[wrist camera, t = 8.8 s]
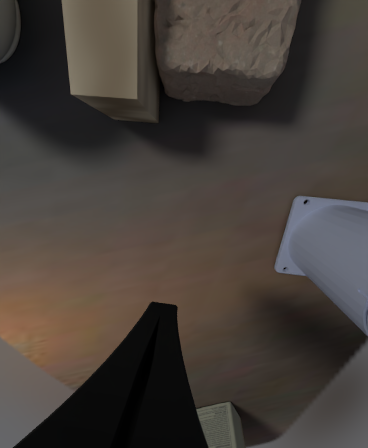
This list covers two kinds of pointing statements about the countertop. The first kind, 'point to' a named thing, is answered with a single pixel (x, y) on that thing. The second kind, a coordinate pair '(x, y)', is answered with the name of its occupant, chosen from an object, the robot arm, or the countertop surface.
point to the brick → (222, 47)
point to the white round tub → (9, 28)
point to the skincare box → (221, 426)
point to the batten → (113, 57)
